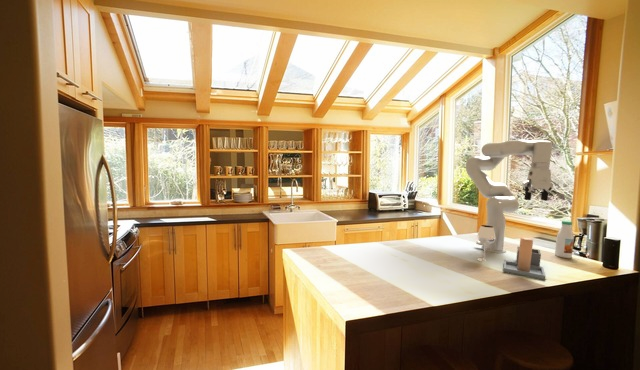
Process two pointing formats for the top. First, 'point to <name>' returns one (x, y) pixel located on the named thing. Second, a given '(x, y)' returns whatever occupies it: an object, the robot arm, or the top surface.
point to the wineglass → (486, 237)
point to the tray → (534, 271)
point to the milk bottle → (565, 240)
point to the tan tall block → (525, 254)
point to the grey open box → (532, 257)
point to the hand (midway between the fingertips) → (535, 200)
